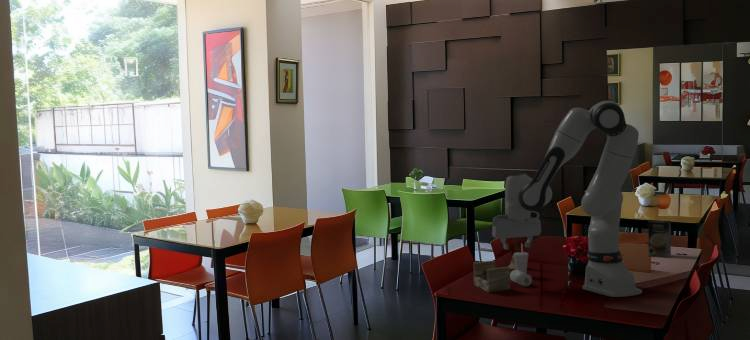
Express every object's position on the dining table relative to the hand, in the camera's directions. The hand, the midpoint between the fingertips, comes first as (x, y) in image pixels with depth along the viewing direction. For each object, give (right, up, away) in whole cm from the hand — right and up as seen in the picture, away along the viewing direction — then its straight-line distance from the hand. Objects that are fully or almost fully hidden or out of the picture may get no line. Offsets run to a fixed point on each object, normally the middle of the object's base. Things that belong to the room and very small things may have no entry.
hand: (516, 247), depth 263 cm
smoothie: (+5, -14, +13) cm, 20 cm away
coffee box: (+75, -9, +41) cm, 86 cm away
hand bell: (+7, -13, +29) cm, 33 cm away
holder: (-10, -15, -2) cm, 19 cm away
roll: (+2, -12, +1) cm, 12 cm away
